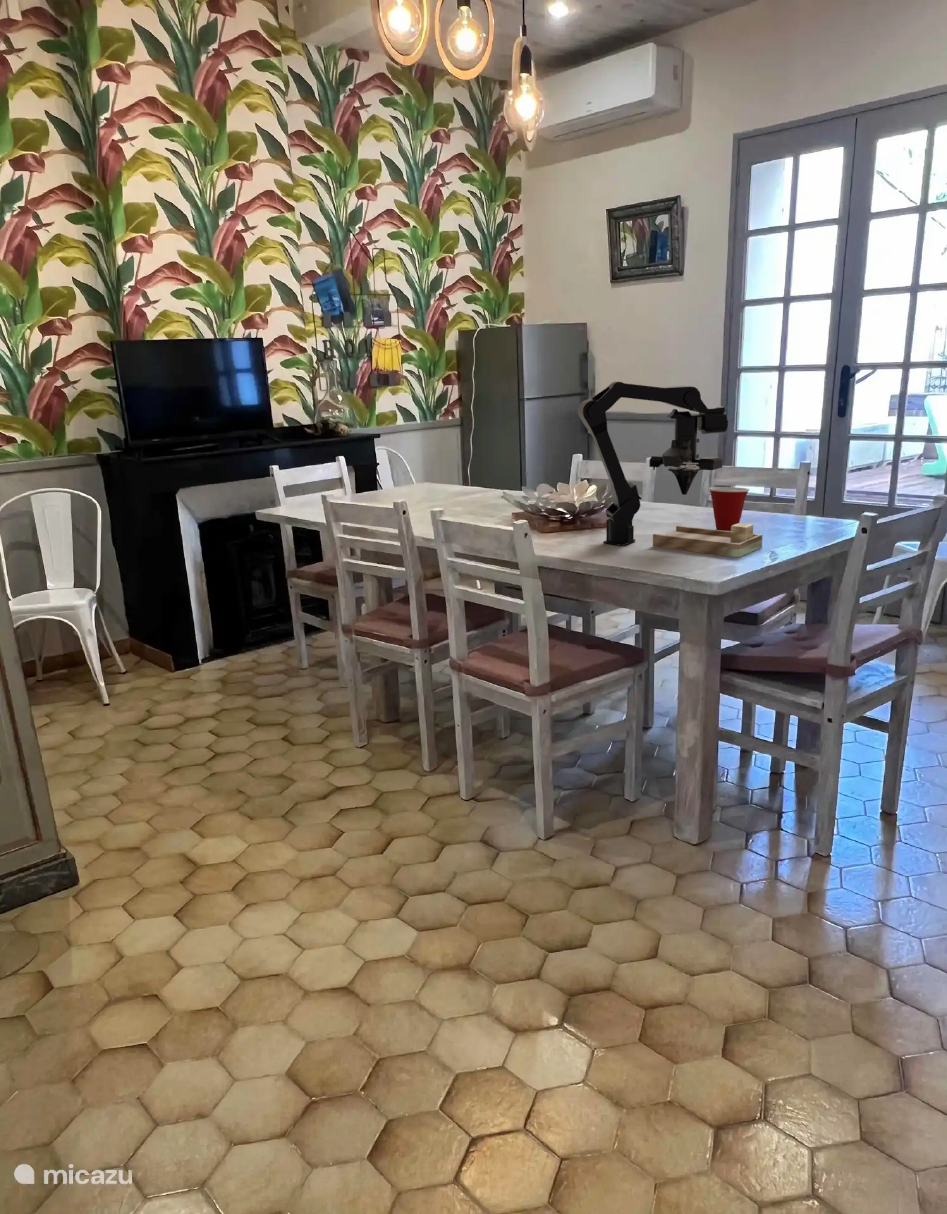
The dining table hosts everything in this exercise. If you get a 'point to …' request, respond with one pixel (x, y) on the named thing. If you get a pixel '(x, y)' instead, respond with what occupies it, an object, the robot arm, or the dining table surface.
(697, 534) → the wooden tray box
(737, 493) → the plastic cup
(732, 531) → the block
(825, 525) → the dining table surface
